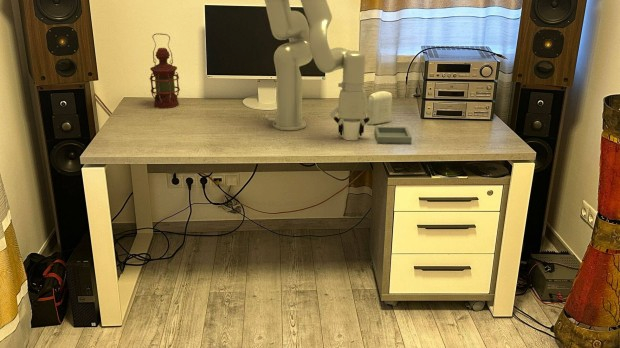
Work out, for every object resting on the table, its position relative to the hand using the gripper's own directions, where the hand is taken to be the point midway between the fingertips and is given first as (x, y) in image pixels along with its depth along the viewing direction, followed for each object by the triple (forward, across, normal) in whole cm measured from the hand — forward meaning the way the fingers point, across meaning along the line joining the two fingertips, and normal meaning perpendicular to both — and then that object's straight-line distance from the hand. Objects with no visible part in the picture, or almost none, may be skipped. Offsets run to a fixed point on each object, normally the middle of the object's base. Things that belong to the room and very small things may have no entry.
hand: (350, 134), depth 232 cm
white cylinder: (+2, 0, 0) cm, 2 cm away
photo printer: (+2, +12, +19) cm, 23 cm away
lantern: (+2, -76, +40) cm, 86 cm away
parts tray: (+1, +15, 0) cm, 15 cm away
